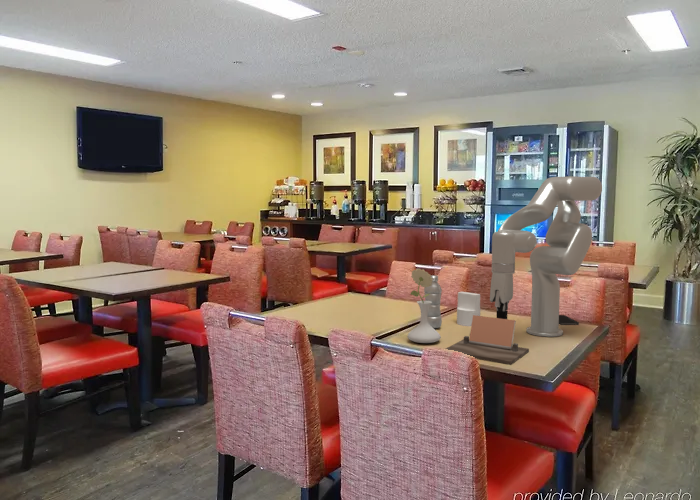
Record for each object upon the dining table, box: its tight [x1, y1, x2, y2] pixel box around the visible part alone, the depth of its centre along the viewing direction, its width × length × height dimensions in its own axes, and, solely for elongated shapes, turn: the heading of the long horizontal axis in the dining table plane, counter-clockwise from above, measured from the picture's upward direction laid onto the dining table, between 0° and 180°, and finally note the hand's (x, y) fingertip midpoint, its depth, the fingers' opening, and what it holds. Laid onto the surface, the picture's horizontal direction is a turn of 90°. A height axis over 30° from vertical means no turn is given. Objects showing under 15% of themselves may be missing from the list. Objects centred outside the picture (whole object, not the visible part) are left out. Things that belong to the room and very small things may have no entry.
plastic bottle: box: [423, 274, 443, 329], centre depth 209 cm, size 6×7×20 cm
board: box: [445, 335, 530, 366], centre depth 177 cm, size 17×22×3 cm
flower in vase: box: [407, 268, 442, 344], centre depth 190 cm, size 13×11×25 cm
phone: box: [559, 314, 580, 326], centre depth 222 cm, size 8×1×15 cm
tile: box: [469, 315, 517, 350], centre depth 180 cm, size 9×14×1 cm
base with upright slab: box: [456, 291, 481, 327], centre depth 217 cm, size 9×9×12 cm
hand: (501, 322), depth 188 cm, fingers closed
